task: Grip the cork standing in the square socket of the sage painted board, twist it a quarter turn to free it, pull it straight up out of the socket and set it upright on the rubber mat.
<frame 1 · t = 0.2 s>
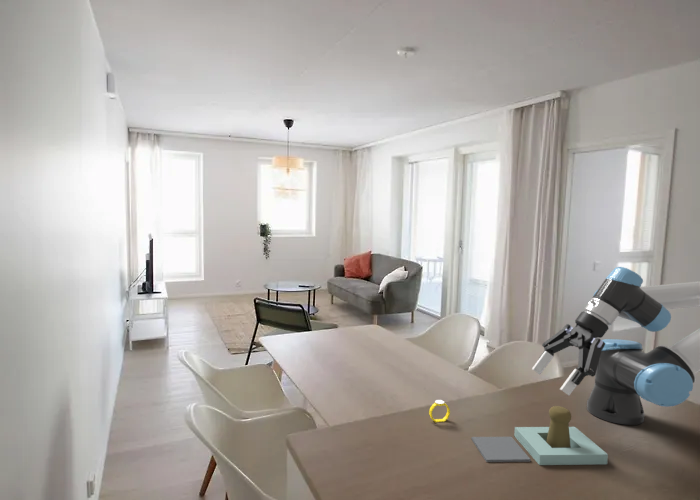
hand: (549, 381, 117), 15 cm above the table, tool tilted 35°, fingers open, 13 cm apart
rubber mat: (499, 449, 110), on the table
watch: (439, 421, 126), on the table
socket board: (558, 449, 111), on the table
cork: (558, 450, 111), resting in socket board
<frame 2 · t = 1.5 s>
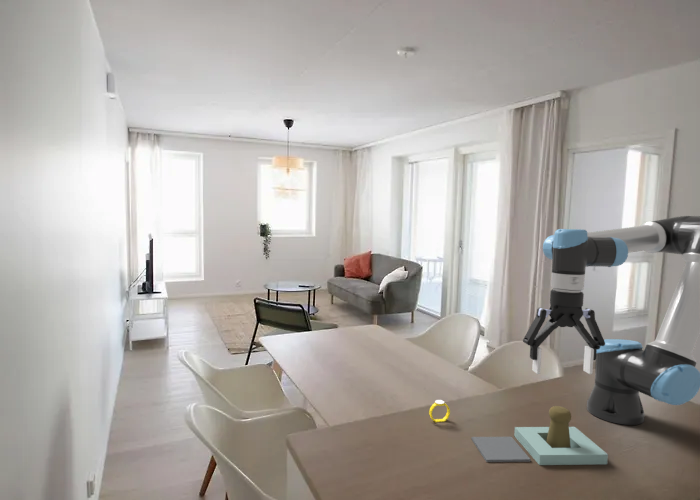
hand: (561, 372, 110), 20 cm above the table, tool pointing down, fingers open, 13 cm apart
nothing on the table moved.
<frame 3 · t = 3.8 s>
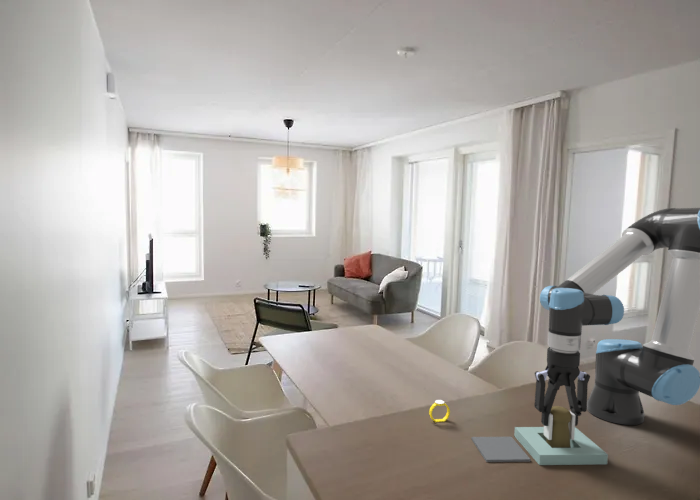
hand: (558, 436, 111), 3 cm above the table, tool pointing down, fingers closed on cork, 5 cm apart
cork: (557, 450, 111), resting in socket board, touching gripper
everything else where it was.
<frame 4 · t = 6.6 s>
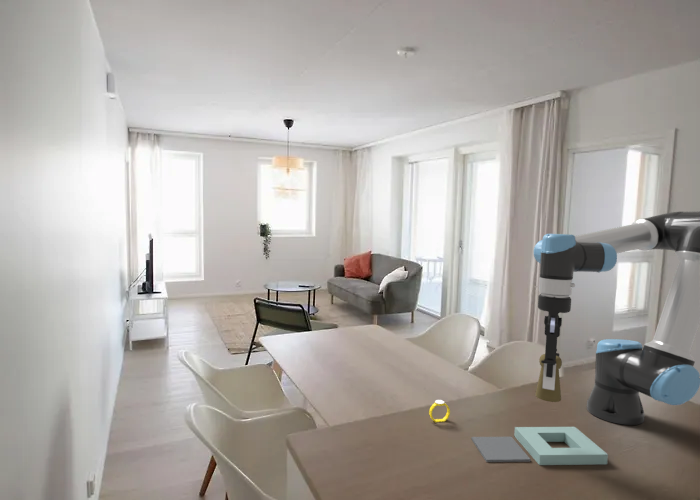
hand: (548, 384, 110), 17 cm above the table, tool pointing down, fingers closed on cork, 5 cm apart
cork: (548, 397, 110), point 14 cm above the table, touching gripper
everything else where it was.
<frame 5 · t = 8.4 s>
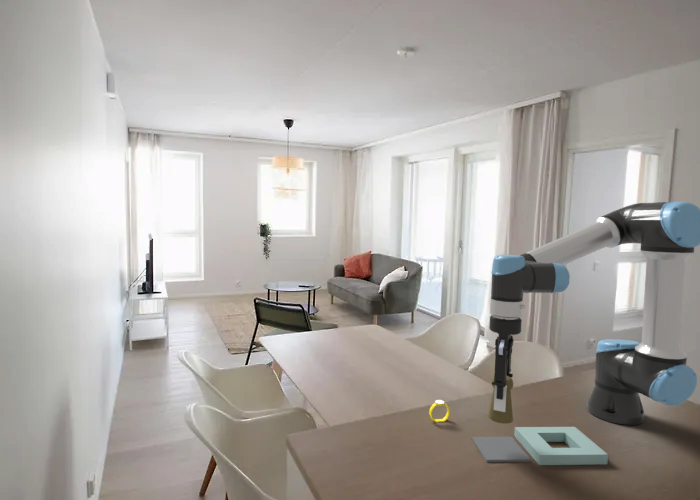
hand: (501, 405, 110), 12 cm above the table, tool pointing down, fingers closed on cork, 5 cm apart
cork: (500, 418, 110), point 8 cm above the table, touching gripper
everything else where it was.
when the fingers open (5 cm above the table, at t = 9.8 s): cork drops 1 cm, resting on rubber mat.
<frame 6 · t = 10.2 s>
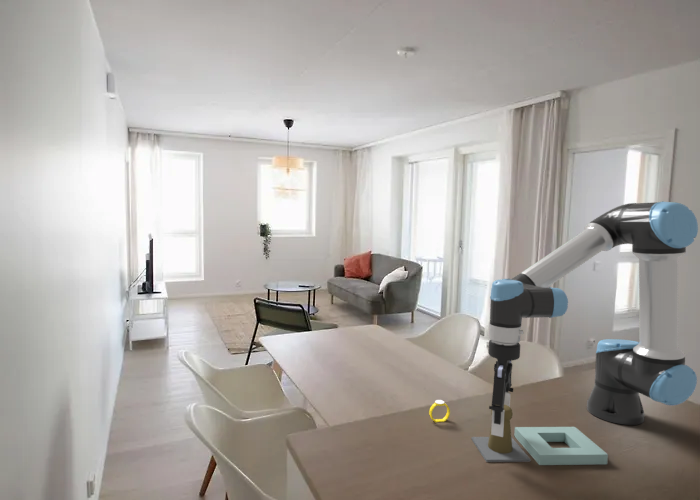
hand: (500, 425, 110), 7 cm above the table, tool pointing down, fingers open, 11 cm apart
cork: (500, 447, 111), resting on rubber mat
everything else where it was.
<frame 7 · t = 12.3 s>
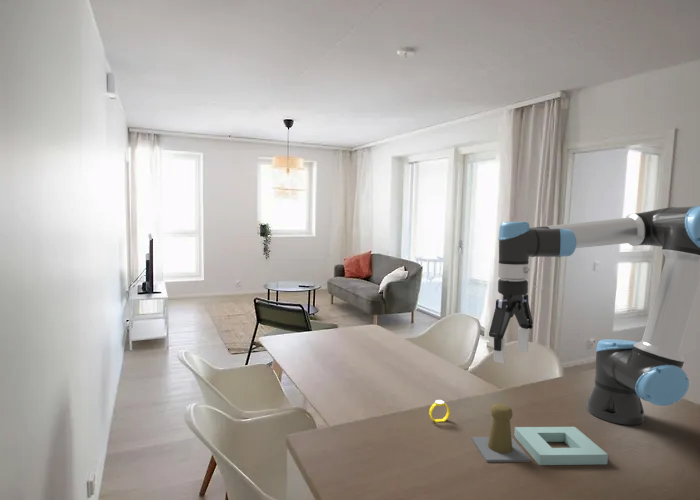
hand: (511, 356, 117), 22 cm above the table, tool pointing down, fingers open, 13 cm apart
nothing on the table moved.
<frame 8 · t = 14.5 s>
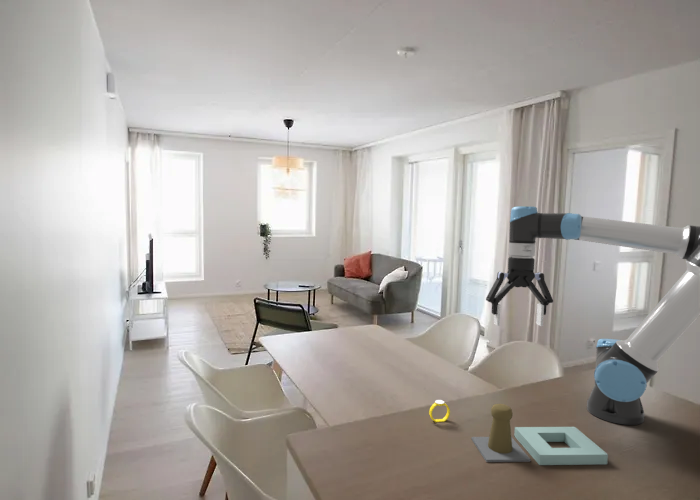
hand: (518, 325, 133), 27 cm above the table, tool pointing down, fingers open, 13 cm apart
nothing on the table moved.
at the end: cork inside the target area on the rubber mat (0.3 cm from its centre), point 0.4 cm above the rubber mat's base; cork tilted 0°; the gripper is holding nothing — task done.
